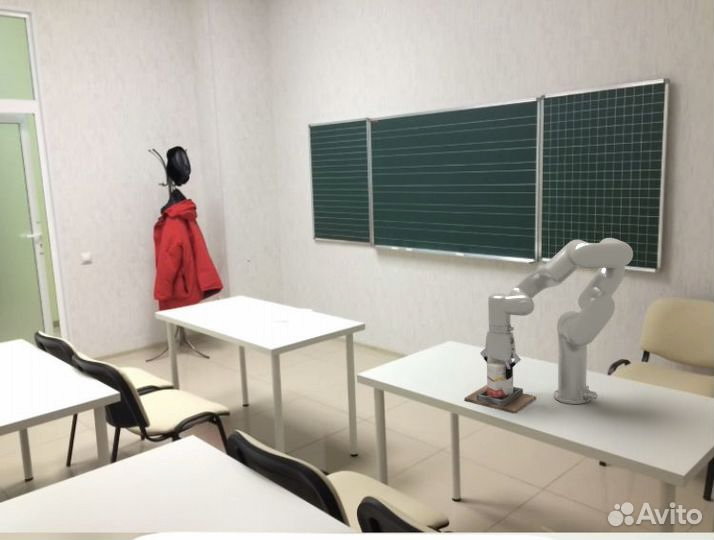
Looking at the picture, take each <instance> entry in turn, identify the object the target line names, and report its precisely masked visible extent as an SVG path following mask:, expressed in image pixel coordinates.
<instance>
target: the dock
mask: <svg viewBox="0 0 714 540" xmlns="http://www.w3.org/2000/svg"><path fill="white" fill-rule="evenodd" d="M536 399H537V396H536V395H533V394H530V393H529V394H528V393H524V388H522V387H517V386H513V393H511V394H507V395H504V396H501V397H497V398H495V397H493V396H491V395H488V394H487V384H486V385H484V386H482V387H481V388H479V389H477V390H475V391H473V392H472V393H470V394H468V395H467V396H465V397H464V401H465V402H469V403H472V404H477V405H481V406H485V407H488V408H491V409H495V410H500V411H503V412H507V413H511V414H514V413H515V414H516V413H518V412H520V411H521V410H522V409H523V408H525V407H526V406H528V405H529V404H531V403H532V402H533V401H535V400H536ZM527 404H528V405H527Z"/></svg>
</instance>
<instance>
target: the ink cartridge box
mask: <svg viewBox="0 0 714 540" xmlns="http://www.w3.org/2000/svg"><path fill="white" fill-rule="evenodd" d="M506 369H507V366H506V363H505V361H502V360H497V359H492V358H490V355H488V359H487V362H486V385H487V394H488V395H491V396H493V397H495V398H497V397H501V396H504V395H507V394H511V393H513V387H514V374H513V375H512V377H511V378H510V379H508V380H507V379H506ZM512 372H513V373H514V367H512Z"/></svg>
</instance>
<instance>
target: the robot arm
mask: <svg viewBox="0 0 714 540" xmlns="http://www.w3.org/2000/svg"><path fill="white" fill-rule="evenodd" d="M633 257H634V251H633V248H632V247H631V246H630V244H628V243H627V242H625V241H622V240H619V239H617V238H613V237H606V238H604V239H601V241H599V242H596V243H595V242H587V241H584V240H582V239H572V240H571V241H569V242H568V243H567V244H566V245H565V246H564V247H563V248H561V249H560V250H559V251H558V252H557V253H556V254H555V255H554V256H552V258H551V259H549V261H547V262H545V264H544V265H542V267H540V268H537V269H536V270H535V271H533V272H532V273H530V274H528V275H527V276H526V277H525V278H523V279H521V280H520V282H518V284H516V285H515V286H514V287H513V288H512V289H511V290H510V291H509V293H508V294H507V293H503V292H501V293H500V292H499V293H498V292H497V293H496V292H495V293H492V294H490V295H489V296H488V299H487V300H488V302H487V303H488V306H487V307H488V331H487V332H486V337H485V345H484V346H485V347H484V348H483V349H482V350H481V352H479V354H480V355H481V357H482V358H483V360H484V361H485V363H487V359H488V355H490V358H492V359H497V360H502V361H505V363H506V366H507V369H506V379H507V380H508V379H510V378H511V377H512V375H513V376H514V371H513V372H512V367H513V368H514V367H515V366H516V365H517V364H518V363H519V362H520V361H521V358H520V356H519V355H518V354H517V351H516V341H515V337H514V333H513V331H514V330H515V329H514V327H513V326H512V324H511V316H519V317H526V316H528V315H530V314H532V313H533V311H534V309H535V303H534V300H533V298H535V296H537V295H538V294H539V293H541V292H542V291H544V290H545V289H549V288H553V287H557V286H560V285H561V284H563V283H564V282H565V281H566V280H567V279H568V278H569V277H570V276H571V275H573V273H574V272H576V271H577V270H578V269H579V268H581V269H597V271H596V273H595V275H594V276H593V278H592V279H591V280H590V282H589V283H588V284H587V285H586V287H585V288H584V289H583V290H582V292H581V293H580V294H579V296H578V299H577V303H578V304H577V305H578V307H579V308H580V311H579V312H577V311H574V310H568V311H565V312H563V313H562V314H561V315H560V316H559V318H558V320H557V324H556V332H557V342H558V360H557V361H558V362H557V363H558V365H557V366H558V367H557V368H558V372H557V373H558V374H557V378H558V379H557V381H558V382H557V389H556V390H555V391H554V392H553V397H554V399H555V400H557V401H558V402H561V403H564V404H570V405H581V404H587V403H588V402H590V400H592V399H593V400H597V399H598V396H599V395H598V394H597V391H593V390H590V385H587V371H588V370H587V369H588V366H587V363H588V362H587V361H588V360H587V358H588V345H589V344H590V343H592V342H593V341H594V340H595V339H596V338H597V336H598V335H599V334H600V333H601V332H602V330H603V329H604V328H605V327H606V325H607V324H608V322H609V321H610V320H611V319H612V317H613V316H614V313H615V309H616V303H615V300H614V299H613V298H612V297H613V295H614V294H615V293H616V291H617V290H618V288H619V287H620V285H621V284H622V281H623V280H624V277H625V272H626V266H627V265H628V264H630V262H631V261H632V260H633ZM513 359H514V360H513Z"/></svg>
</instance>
